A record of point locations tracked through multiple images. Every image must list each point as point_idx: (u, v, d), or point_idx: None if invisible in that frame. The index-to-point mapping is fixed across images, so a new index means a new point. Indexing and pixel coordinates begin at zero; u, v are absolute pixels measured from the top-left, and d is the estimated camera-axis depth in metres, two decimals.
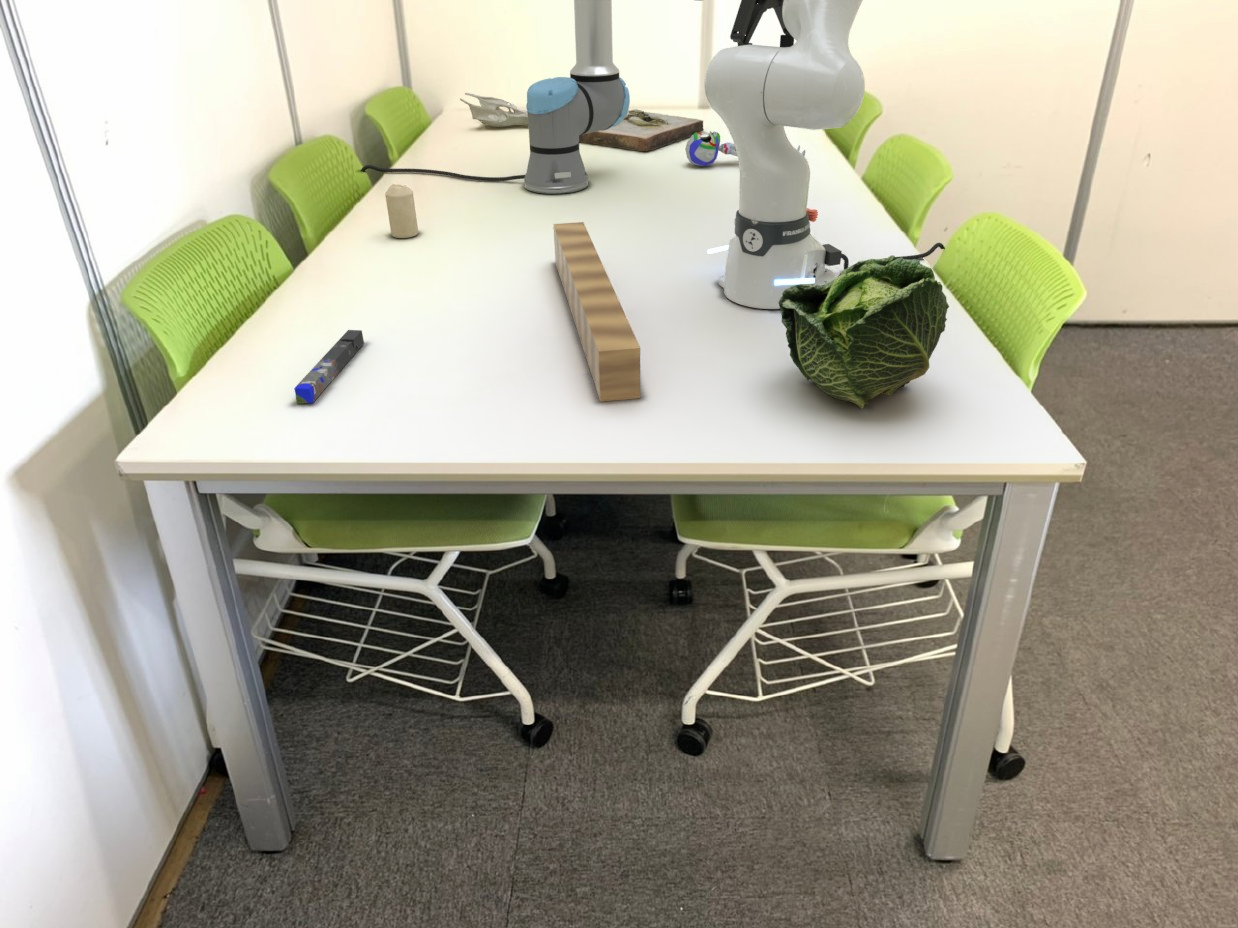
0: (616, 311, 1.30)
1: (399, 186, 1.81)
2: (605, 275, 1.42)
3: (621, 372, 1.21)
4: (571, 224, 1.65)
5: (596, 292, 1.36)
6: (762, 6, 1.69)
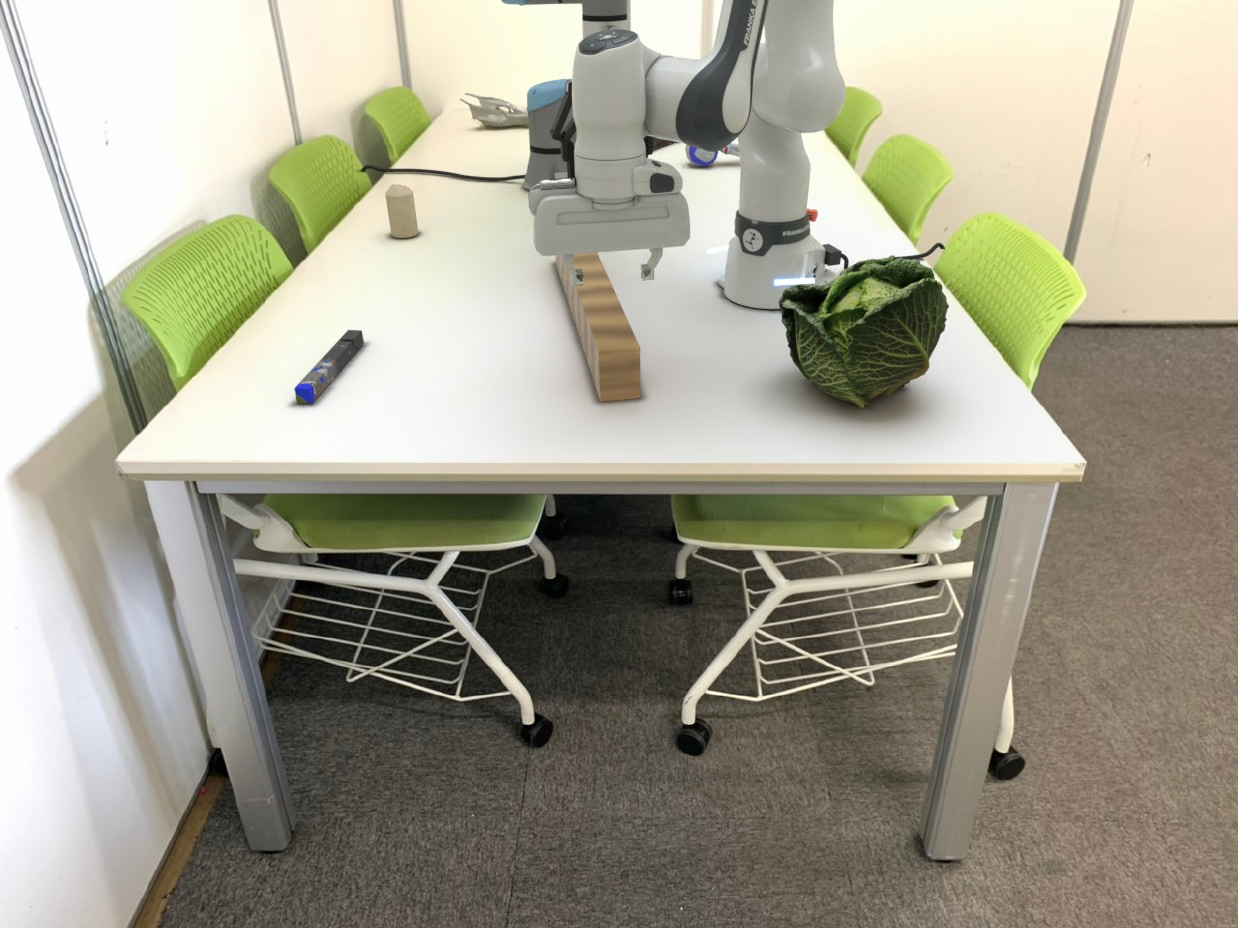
0: (616, 311, 1.30)
1: (399, 186, 1.81)
2: (605, 275, 1.42)
3: (621, 372, 1.21)
4: None
5: (596, 292, 1.36)
6: None
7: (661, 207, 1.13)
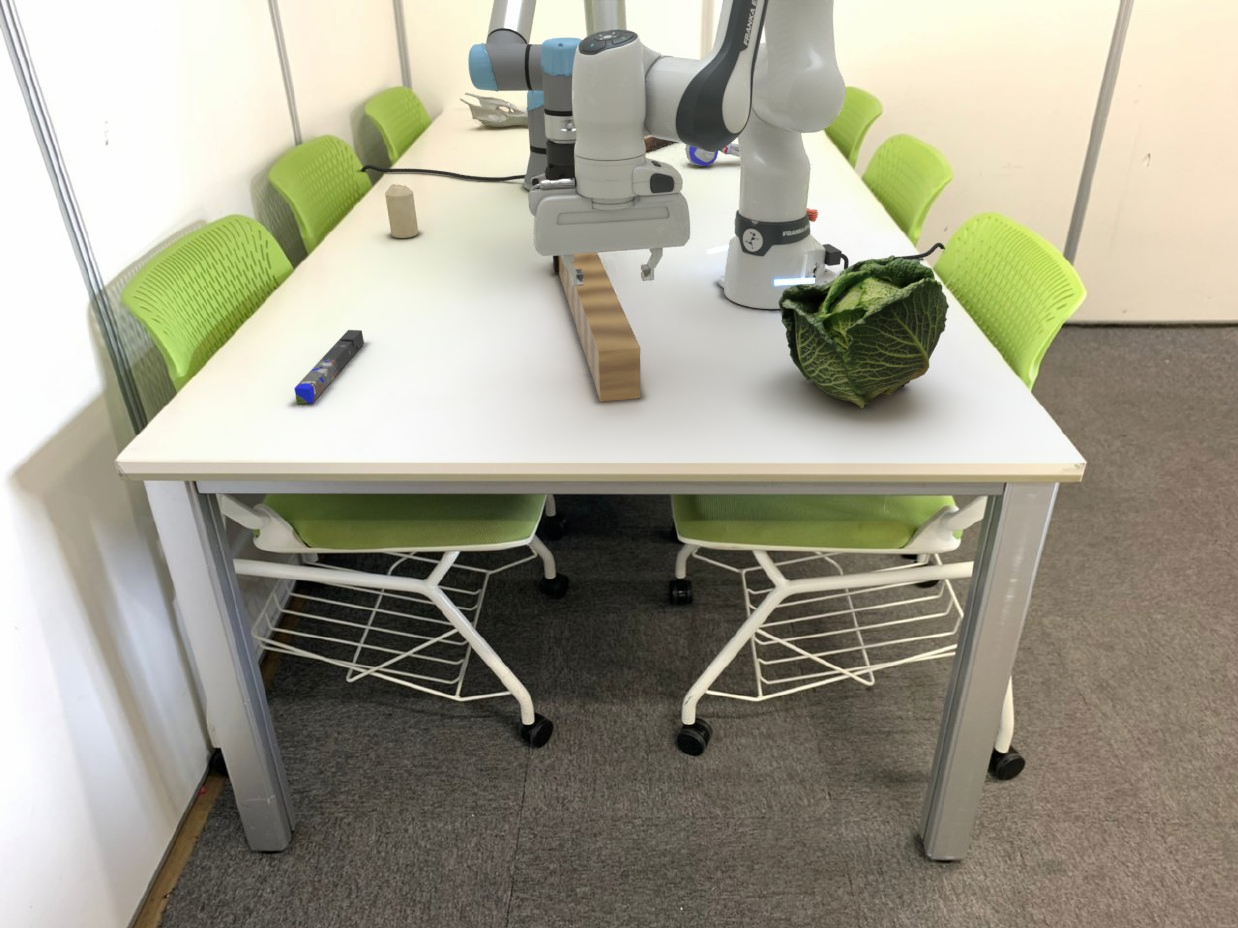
0: (616, 311, 1.30)
1: (399, 186, 1.81)
2: (605, 275, 1.42)
3: (621, 372, 1.21)
4: None
5: (596, 292, 1.36)
6: None
7: (661, 207, 1.13)
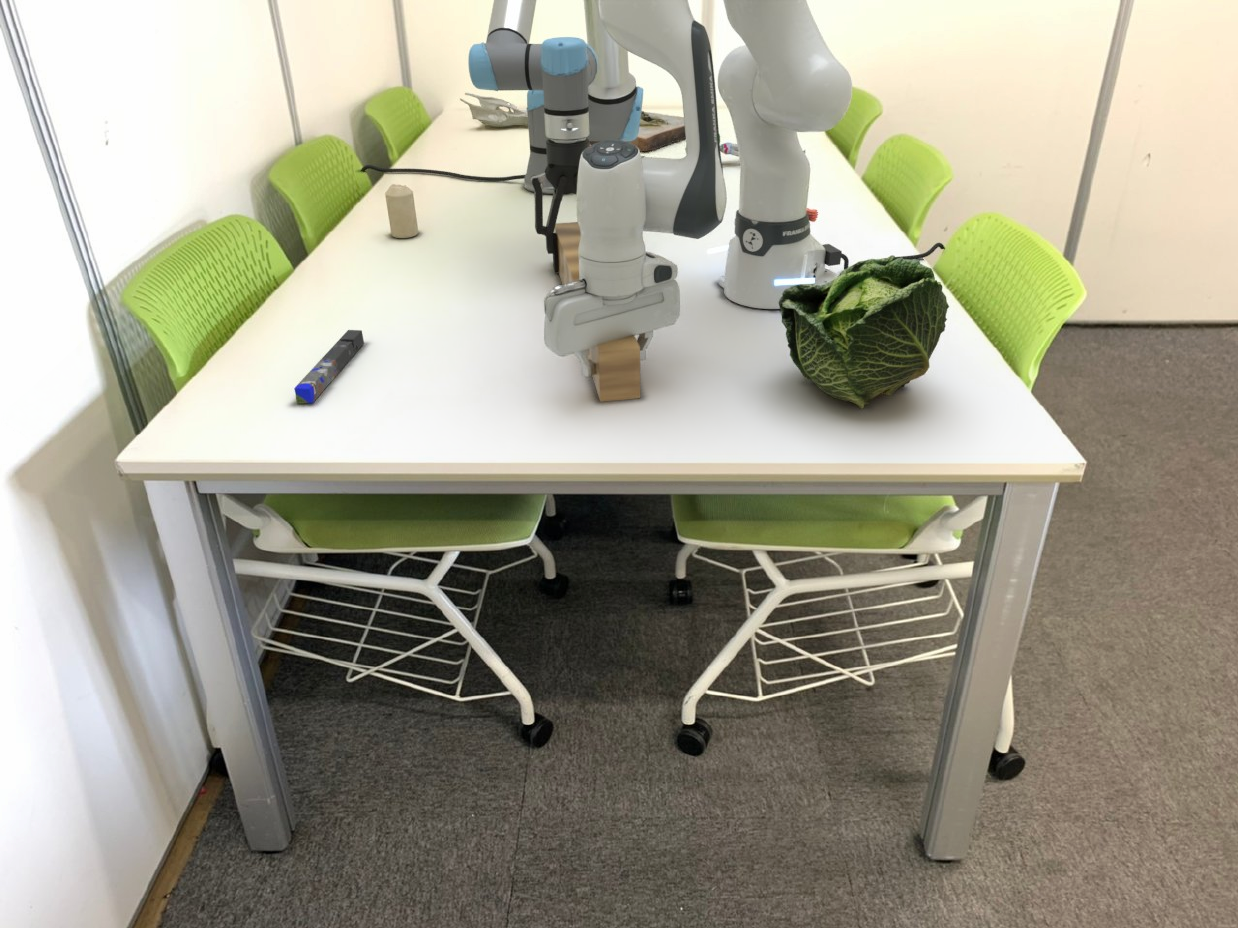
0: None
1: (399, 186, 1.81)
2: None
3: (621, 372, 1.21)
4: (572, 224, 1.65)
5: None
6: (555, 197, 1.57)
7: (657, 293, 1.22)
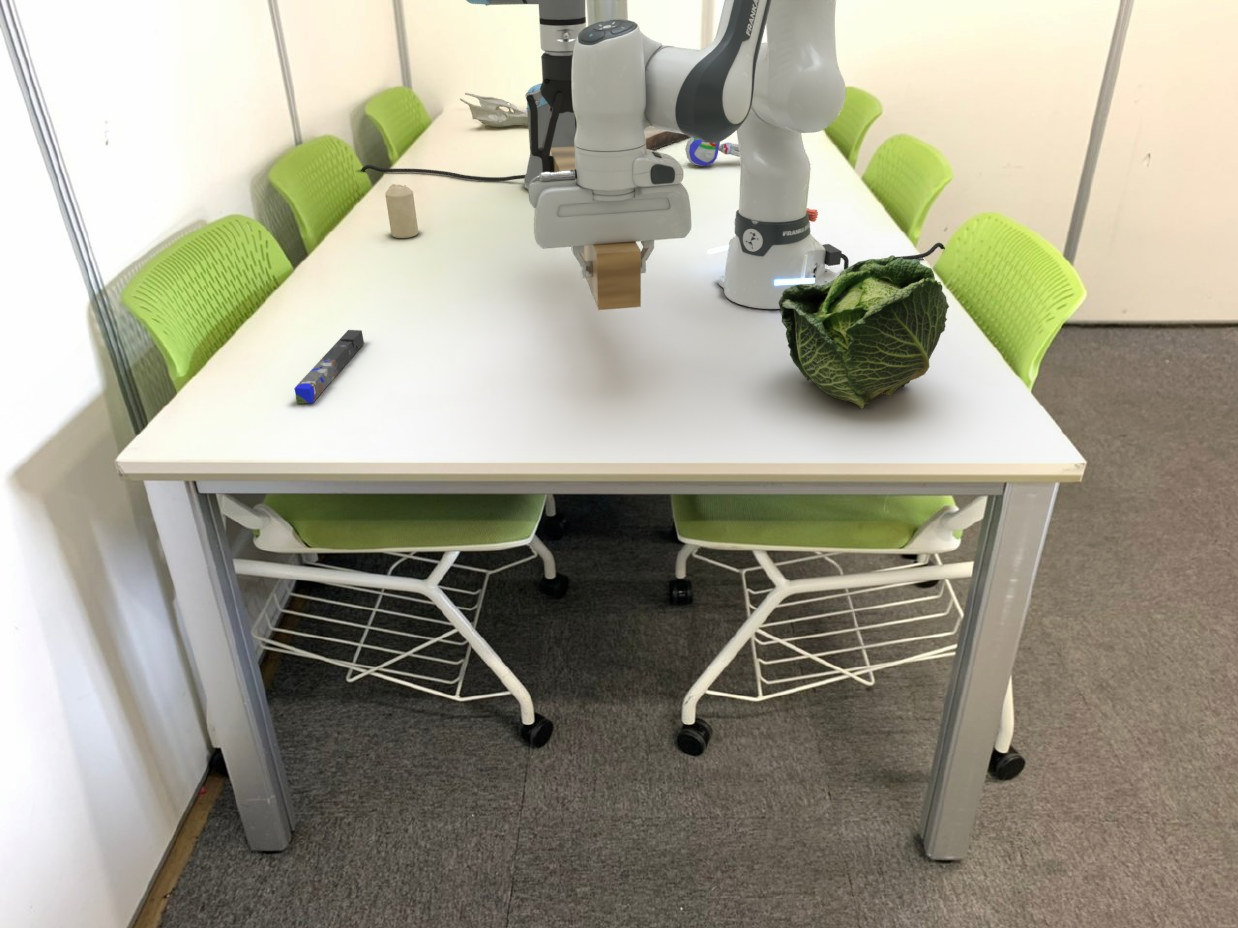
0: None
1: (399, 186, 1.81)
2: None
3: (620, 277, 1.14)
4: (568, 148, 1.58)
5: None
6: (551, 115, 1.50)
7: (662, 198, 1.13)
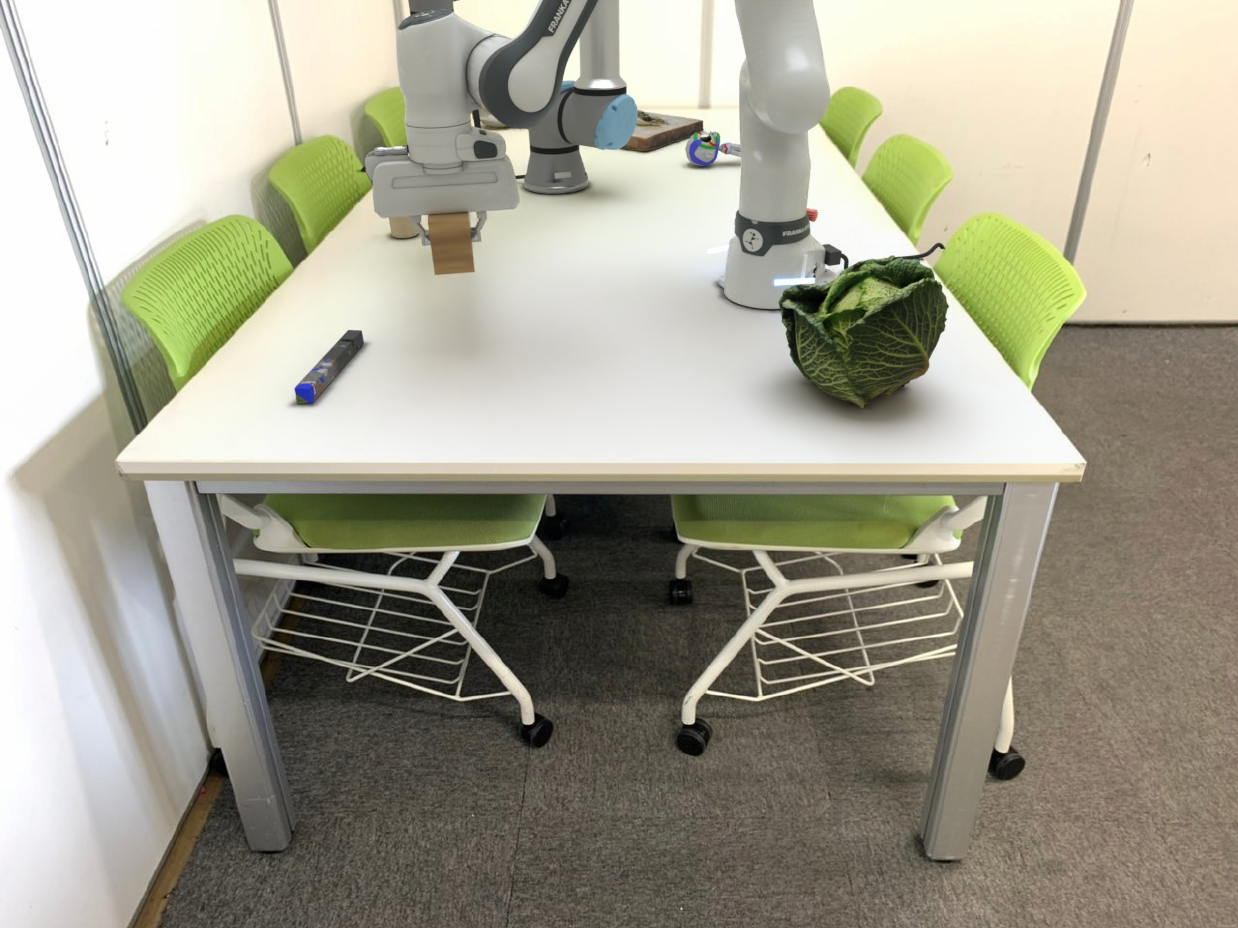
0: None
1: None
2: None
3: (452, 244, 1.25)
4: None
5: None
6: None
7: (489, 172, 1.24)
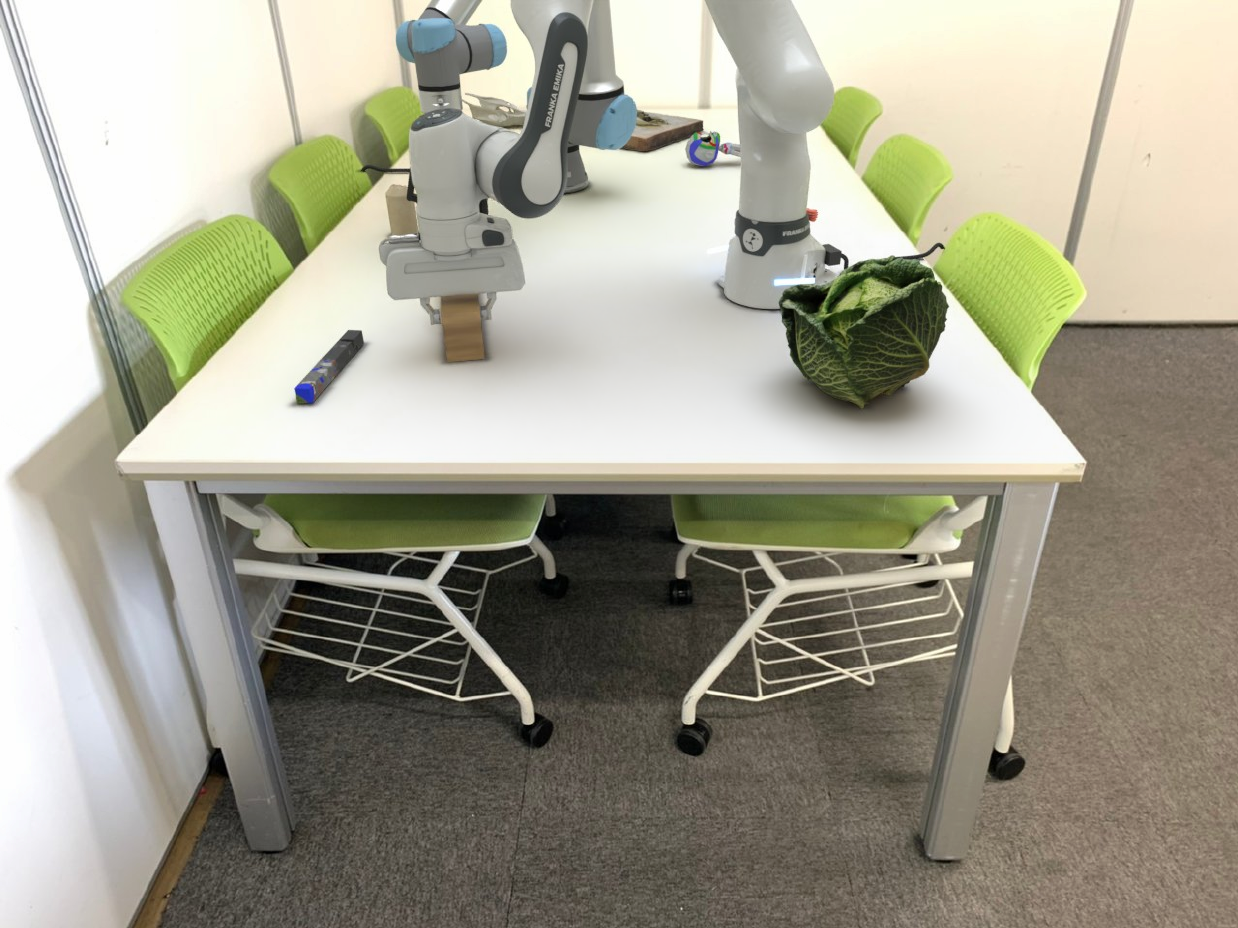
0: None
1: (399, 186, 1.81)
2: None
3: (464, 334, 1.32)
4: None
5: None
6: None
7: (497, 257, 1.30)
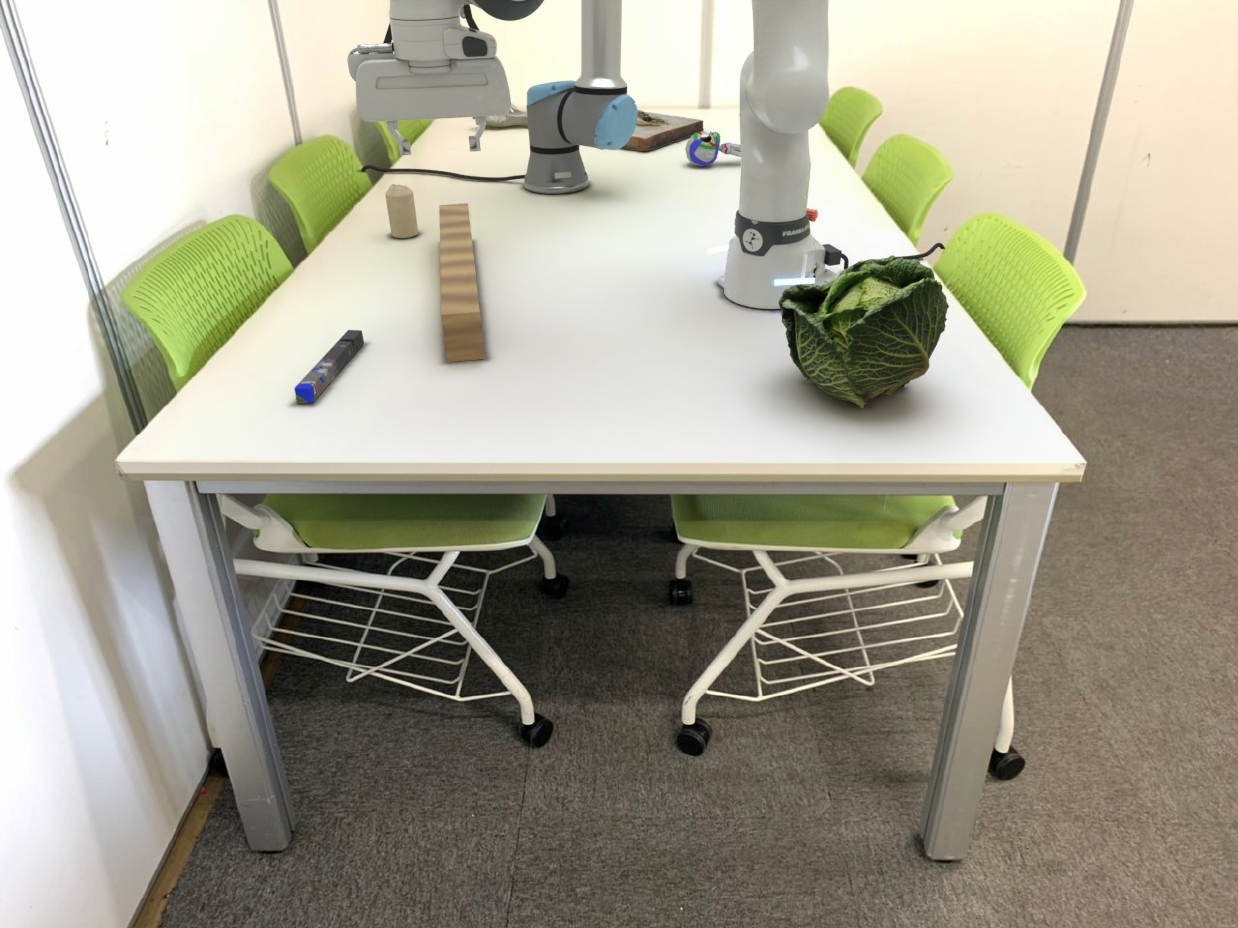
0: (470, 280, 1.41)
1: (399, 186, 1.81)
2: (471, 250, 1.54)
3: (464, 334, 1.32)
4: (456, 205, 1.76)
5: (457, 265, 1.47)
6: None
7: (479, 73, 1.17)
